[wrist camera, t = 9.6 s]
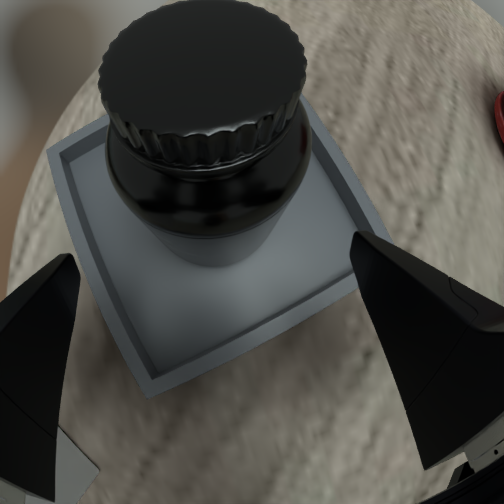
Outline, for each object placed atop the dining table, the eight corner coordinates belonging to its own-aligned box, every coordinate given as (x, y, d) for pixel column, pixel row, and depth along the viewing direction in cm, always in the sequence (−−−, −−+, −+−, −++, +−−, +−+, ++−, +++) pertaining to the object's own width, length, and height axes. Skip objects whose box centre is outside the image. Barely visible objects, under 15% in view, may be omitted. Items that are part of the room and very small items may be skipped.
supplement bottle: (298, 201, 18) (401, 66, 6) (220, 294, 17) (213, 284, 5) (209, 131, 18) (202, -40, 6) (130, 214, 17) (12, 93, 5)
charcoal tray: (155, 388, 16) (146, 399, 14) (60, 163, 18) (46, 149, 16) (383, 263, 19) (401, 259, 16) (264, 70, 20) (268, 50, 18)
